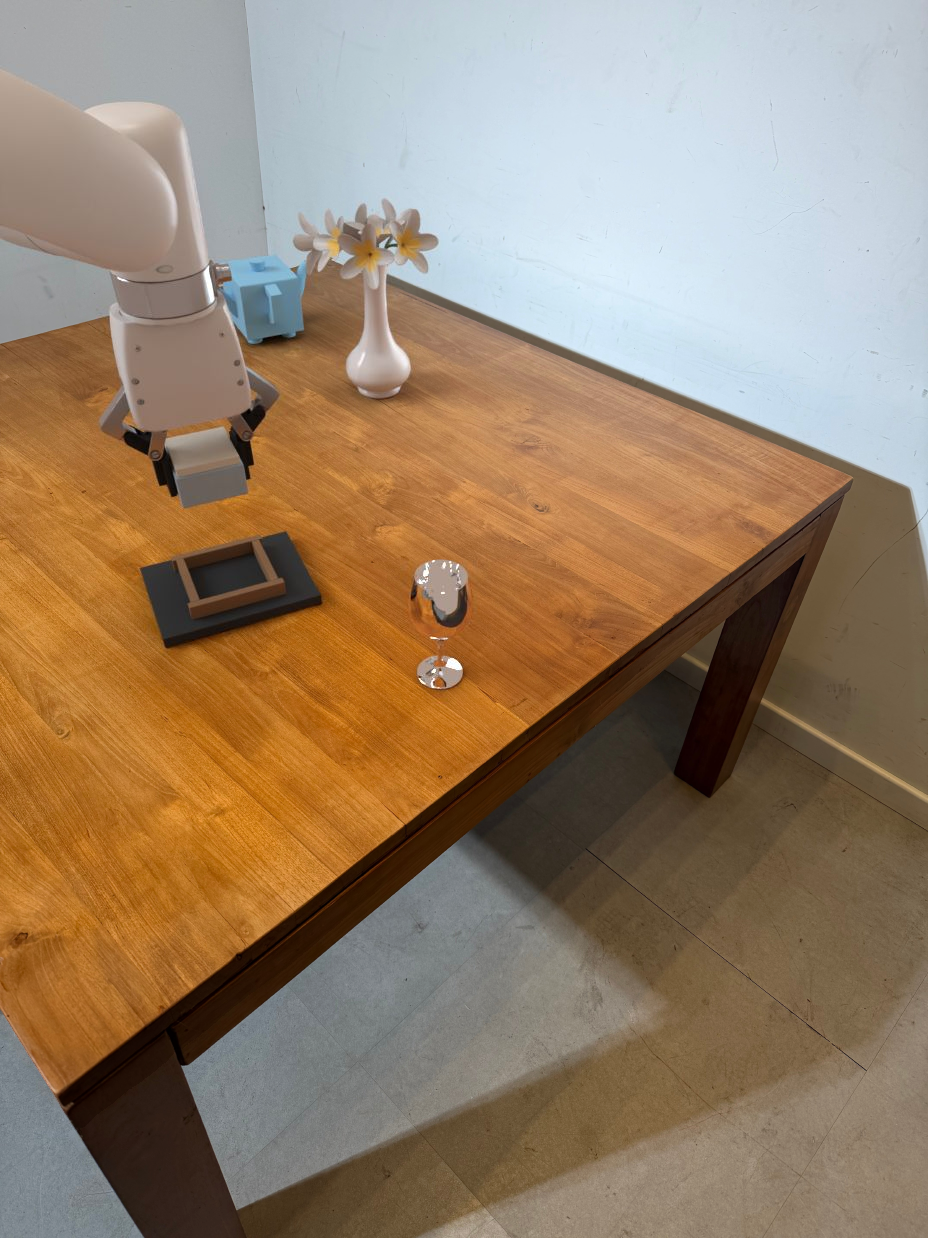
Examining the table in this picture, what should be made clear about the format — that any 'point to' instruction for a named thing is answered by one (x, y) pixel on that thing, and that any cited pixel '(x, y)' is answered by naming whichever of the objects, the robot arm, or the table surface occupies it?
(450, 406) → the table surface
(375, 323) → the flower vase
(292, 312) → the teapot
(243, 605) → the base pad
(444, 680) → the wineglass
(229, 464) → the upper pad
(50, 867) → the table surface
